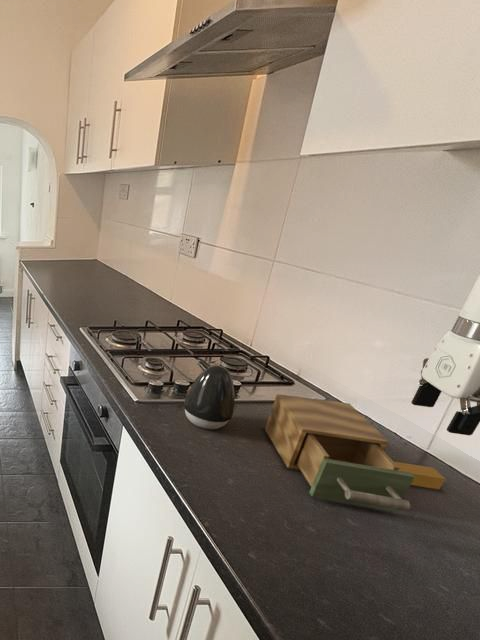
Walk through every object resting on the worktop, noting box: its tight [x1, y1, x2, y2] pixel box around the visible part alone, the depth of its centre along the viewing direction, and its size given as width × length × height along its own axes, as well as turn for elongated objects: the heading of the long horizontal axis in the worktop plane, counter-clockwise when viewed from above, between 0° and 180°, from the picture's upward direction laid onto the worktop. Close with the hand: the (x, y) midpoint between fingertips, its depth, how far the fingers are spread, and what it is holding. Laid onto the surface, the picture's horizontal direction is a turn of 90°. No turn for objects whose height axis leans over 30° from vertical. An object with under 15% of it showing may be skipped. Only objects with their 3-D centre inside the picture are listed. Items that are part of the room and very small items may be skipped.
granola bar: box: [394, 461, 446, 490], centre depth 81 cm, size 8×3×3 cm, turn 72°
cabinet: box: [264, 393, 389, 471], centre depth 87 cm, size 15×14×10 cm
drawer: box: [295, 433, 414, 513], centre depth 76 cm, size 18×12×8 cm
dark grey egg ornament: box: [183, 360, 235, 430], centre depth 97 cm, size 10×10×15 cm
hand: (439, 418), depth 76 cm, fingers open, 9 cm apart
